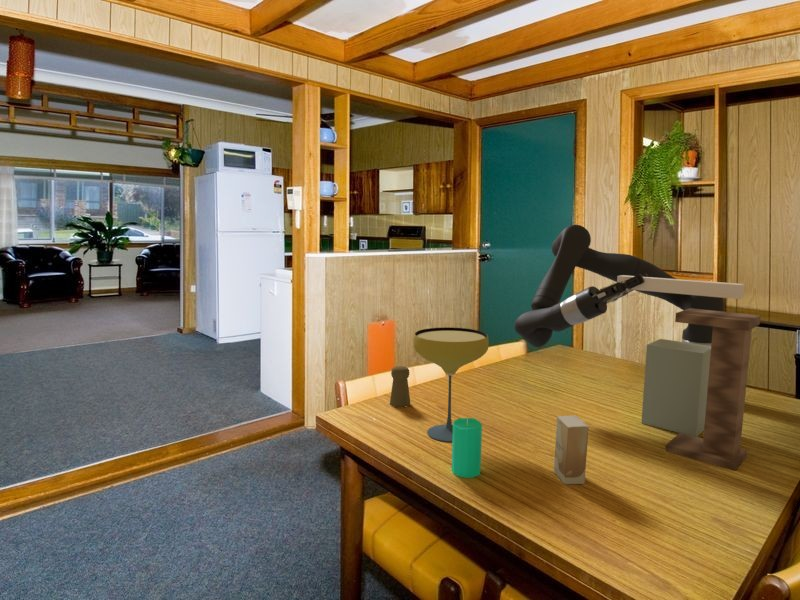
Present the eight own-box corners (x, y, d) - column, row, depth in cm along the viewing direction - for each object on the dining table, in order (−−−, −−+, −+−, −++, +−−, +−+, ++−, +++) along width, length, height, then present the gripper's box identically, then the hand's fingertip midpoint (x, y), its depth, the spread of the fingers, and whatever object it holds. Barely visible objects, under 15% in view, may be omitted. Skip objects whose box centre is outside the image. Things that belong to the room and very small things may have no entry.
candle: (460, 462, 117) (461, 409, 115) (485, 469, 113) (487, 414, 112) (446, 472, 112) (447, 417, 110) (472, 480, 108) (473, 423, 107)
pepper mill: (408, 408, 151) (408, 370, 149) (387, 406, 152) (387, 369, 151) (412, 401, 157) (412, 364, 155) (392, 400, 158) (392, 363, 157)
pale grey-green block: (641, 423, 140) (646, 344, 137) (655, 413, 147) (660, 338, 145) (696, 437, 131) (703, 353, 128) (707, 426, 138) (714, 346, 136)
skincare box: (553, 471, 113) (555, 415, 111) (573, 470, 113) (576, 414, 111) (564, 485, 106) (567, 426, 105) (586, 484, 107) (589, 426, 105)
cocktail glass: (491, 449, 124) (494, 342, 120) (412, 448, 124) (413, 341, 121) (481, 420, 142) (483, 327, 138) (412, 419, 142) (413, 326, 139)
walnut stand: (665, 450, 123) (675, 313, 119) (679, 438, 130) (690, 308, 126) (735, 470, 114) (749, 321, 109) (746, 456, 121) (760, 315, 116)
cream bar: (616, 288, 131) (617, 275, 130) (621, 287, 133) (622, 275, 133) (739, 299, 113) (741, 285, 113) (743, 297, 115) (744, 284, 115)
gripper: (564, 295, 135) (626, 264, 123) (589, 291, 145) (649, 262, 133) (576, 323, 133) (641, 294, 122) (601, 316, 143) (662, 289, 132)
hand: (645, 277), depth 127 cm, fingers closed on cream bar, 3 cm apart
